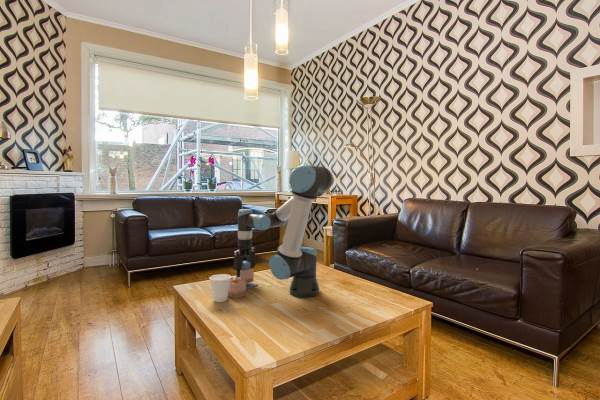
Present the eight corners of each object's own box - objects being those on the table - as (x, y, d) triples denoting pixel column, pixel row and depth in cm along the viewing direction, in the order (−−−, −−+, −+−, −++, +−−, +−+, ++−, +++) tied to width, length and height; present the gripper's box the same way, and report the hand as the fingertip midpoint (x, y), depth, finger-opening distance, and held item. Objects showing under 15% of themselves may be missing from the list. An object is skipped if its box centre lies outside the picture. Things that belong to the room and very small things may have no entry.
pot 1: (245, 278, 175) (245, 266, 174) (253, 281, 171) (253, 268, 170) (236, 281, 170) (236, 268, 169) (244, 284, 166) (244, 270, 165)
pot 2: (236, 292, 160) (236, 278, 160) (245, 295, 156) (245, 281, 156) (226, 295, 155) (226, 281, 155) (235, 298, 151) (235, 284, 151)
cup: (225, 305, 143) (225, 281, 143) (205, 303, 145) (205, 279, 145) (234, 297, 153) (234, 274, 152) (215, 295, 155) (215, 273, 154)
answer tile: (245, 281, 177) (245, 280, 177) (258, 285, 171) (258, 284, 171) (231, 286, 169) (231, 285, 169) (244, 290, 163) (244, 289, 163)
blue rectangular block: (245, 275, 173) (245, 260, 172) (250, 276, 170) (250, 261, 170) (239, 276, 170) (239, 262, 169) (244, 278, 167) (244, 263, 167)
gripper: (253, 235, 179) (253, 275, 180) (225, 239, 163) (225, 283, 165) (263, 236, 174) (262, 278, 175) (235, 241, 159) (235, 287, 160)
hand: (244, 280), depth 170 cm, fingers closed on pot 1, 6 cm apart
